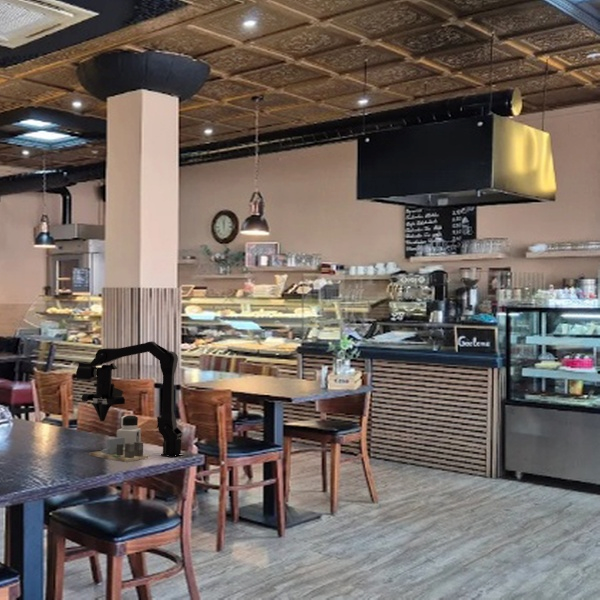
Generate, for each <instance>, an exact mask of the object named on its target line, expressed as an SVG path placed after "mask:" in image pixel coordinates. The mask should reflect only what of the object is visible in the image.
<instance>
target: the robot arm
mask: <svg viewBox="0 0 600 600" xmlns="http://www.w3.org/2000/svg"><path fill="white" fill-rule="evenodd" d="M144 353H149V354H151V355H152V356H153V357H154V358H156V359H157V360H158V361H159V364H160V365H159V367H160V370H161V374H162V411H161V415H159V416H157V417H156V418H157V419H156V421H157V426H156V429H157V428H158V429H157V430H158V432H159V434H160V435H161V436H162V438H163V442H162V453H160V454H161V455H160V456H163V455H169V456H175V455H179V454H182V439H181V438H182V436H183V433H184V432H182V430H180V429H179V427H178V424H177V418H176V415H175V410H174V407H175V404H174V403H175V401H174V399H175V374H176V370H177V365H178V361H179V356H178V354H177V353H176V352H175V351H171V350H170V351H169V350H168V349H166V348H165V347H162V346H161V345H159V344H158V343H157V342H155V341H153V340H151V341H147V342H144V343H140V344H139V343H137V344H133V345H129V346H124V347H123V346H122V347H112V348H111V347H110V348H109V347H106V348H99V349H98V350H97V351H96V352H95V357H94V358H93V359H92V361H91V362H83V361H81V362H78V365H77V368H76V371H75V377H76V379H77V380H80V381H94V379H96V381H95V382H94V383H93V387H95V392H89V393H88V392H87V393H83V394H82V396H81V401H82V402H88V401H92V402H91V403H90V404H91V405H92V406H93V409H94V410H95V411H96V414H97V416H98V418H99V420H100V422H105V420H106V418H107V415H108V412H109V410H110V408H111V407H112V406H116V405H125V404H126V398H125V397H124V396H123V394H124V390H122V389H119V388H117V387H115V384H114V383H113V382H112V378H113V376H112V375H113V371H114V370H118V367H117V366H116V365H115V363H113V362H114V361H116V360H119V359H121V358H123V357H124V358H125V357H130V356H135V355H140V354H144ZM109 363H110V364H109ZM98 366H99V367H98ZM100 366H101V367H100ZM169 456H168V457H169ZM175 457H176V456H175Z"/></svg>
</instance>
